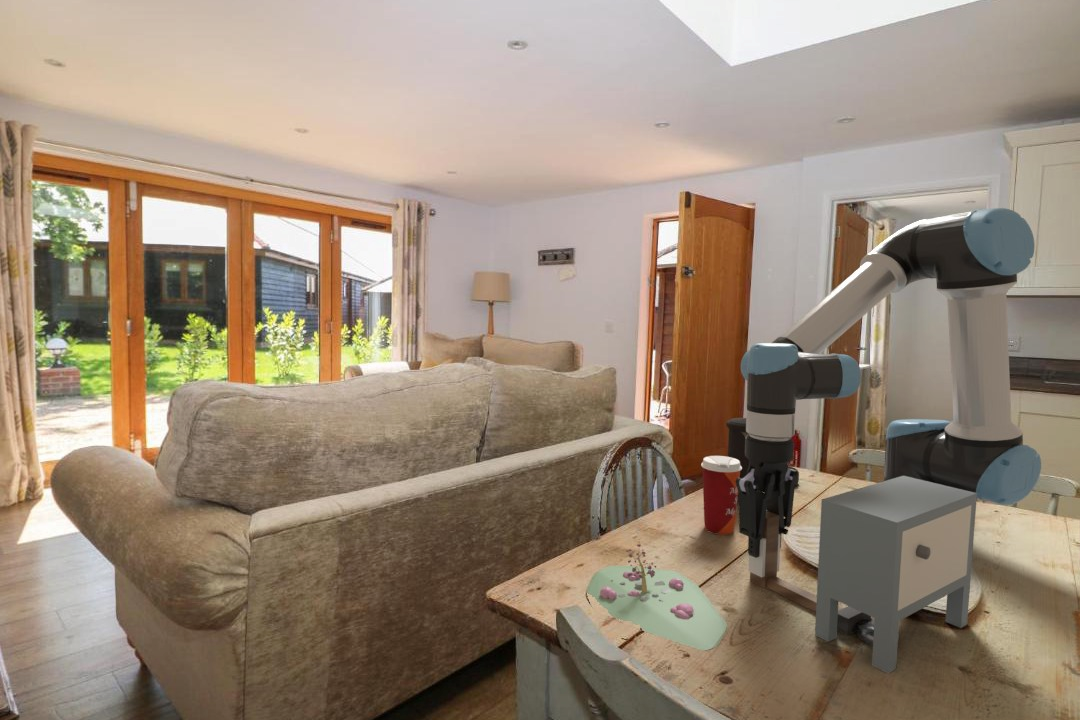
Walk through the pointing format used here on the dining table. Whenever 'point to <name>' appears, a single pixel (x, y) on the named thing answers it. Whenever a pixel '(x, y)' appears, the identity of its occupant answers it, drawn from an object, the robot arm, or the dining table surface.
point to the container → (738, 443)
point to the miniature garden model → (659, 603)
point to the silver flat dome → (867, 630)
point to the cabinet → (894, 557)
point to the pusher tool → (846, 615)
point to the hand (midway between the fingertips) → (763, 570)
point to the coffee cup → (720, 493)
